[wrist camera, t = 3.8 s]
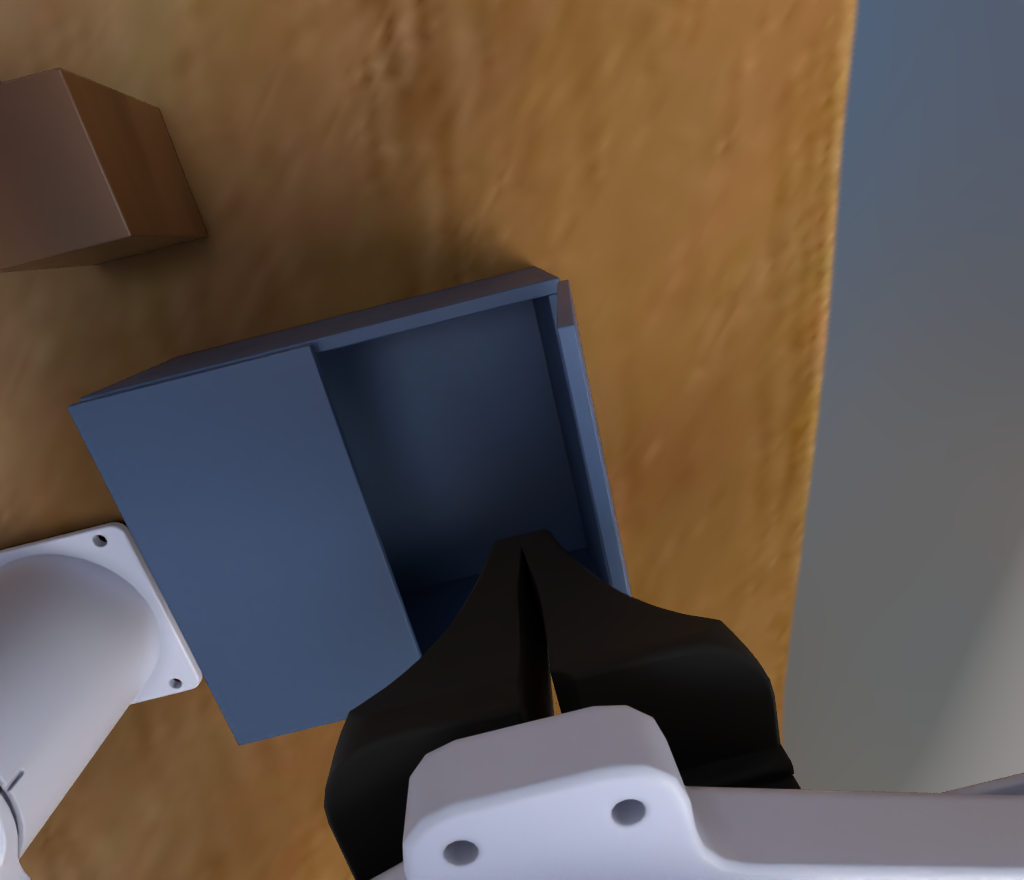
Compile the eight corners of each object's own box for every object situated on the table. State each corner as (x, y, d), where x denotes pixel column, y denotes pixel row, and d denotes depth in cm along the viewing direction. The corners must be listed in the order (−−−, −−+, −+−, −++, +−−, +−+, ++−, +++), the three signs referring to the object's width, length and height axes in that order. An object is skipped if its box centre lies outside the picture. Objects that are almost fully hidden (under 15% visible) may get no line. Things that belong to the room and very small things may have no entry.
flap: (556, 281, 16) (568, 279, 16) (632, 647, 19) (642, 645, 19) (556, 328, 10) (575, 324, 9) (666, 844, 13) (680, 843, 13)
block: (95, 264, 21) (-15, 274, 16) (38, 138, 19) (-101, 107, 15) (208, 235, 21) (132, 236, 16) (158, 107, 19) (59, 66, 15)
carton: (535, 265, 22) (563, 279, 15) (596, 547, 26) (638, 648, 19) (177, 356, 22) (61, 405, 16) (292, 623, 26) (237, 748, 20)
